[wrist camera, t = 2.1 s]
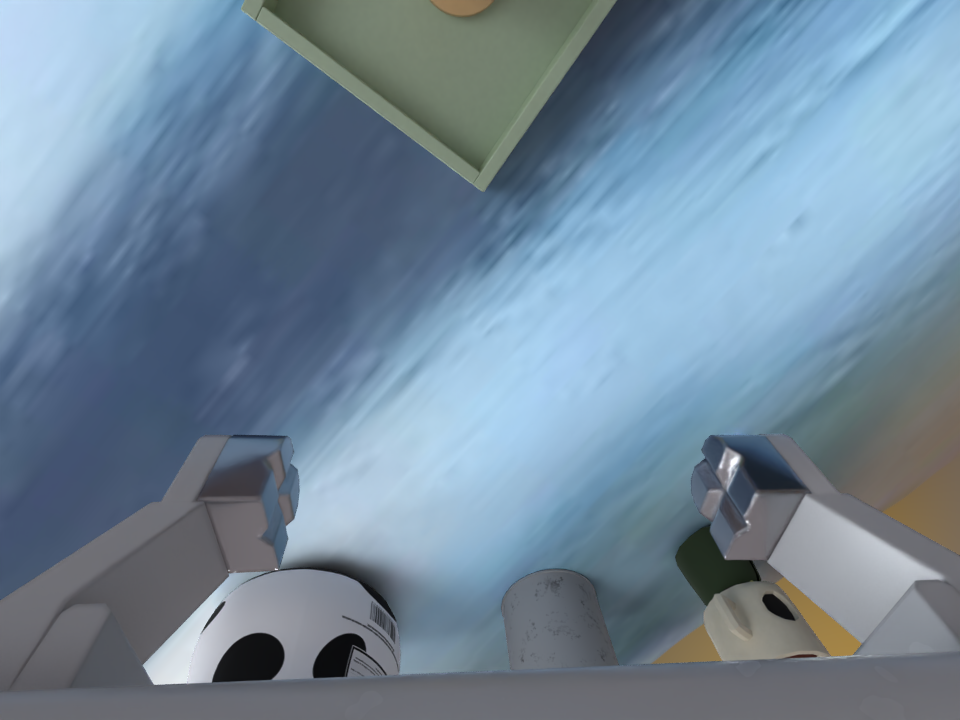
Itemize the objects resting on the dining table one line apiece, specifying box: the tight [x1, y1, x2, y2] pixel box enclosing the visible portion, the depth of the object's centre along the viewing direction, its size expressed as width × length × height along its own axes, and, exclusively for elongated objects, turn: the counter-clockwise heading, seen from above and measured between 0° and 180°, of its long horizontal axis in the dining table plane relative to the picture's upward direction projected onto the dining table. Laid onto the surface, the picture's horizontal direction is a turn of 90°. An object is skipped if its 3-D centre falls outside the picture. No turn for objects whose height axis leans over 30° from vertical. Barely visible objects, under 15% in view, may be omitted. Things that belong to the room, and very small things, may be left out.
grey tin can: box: [501, 569, 619, 670], centre depth 45 cm, size 10×10×12 cm
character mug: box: [675, 526, 831, 661], centre depth 43 cm, size 11×7×13 cm, turn 47°
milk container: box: [187, 568, 401, 684], centre depth 41 cm, size 17×17×18 cm
